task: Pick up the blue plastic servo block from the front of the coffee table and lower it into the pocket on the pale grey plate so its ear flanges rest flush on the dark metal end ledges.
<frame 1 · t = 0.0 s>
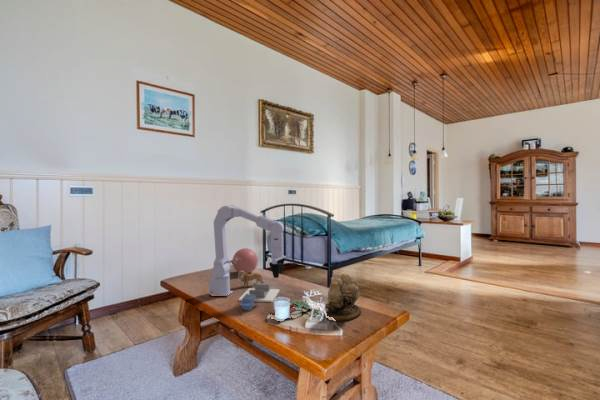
hand: (277, 275, 144), 10 cm above the table, tool pointing down, fingers open, 7 cm apart
servo block: (248, 307, 131), on the table
balloon: (242, 274, 185), on the table
pocket plate: (259, 295, 146), on the table
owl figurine: (343, 314, 123), on the table
lion figurine: (250, 286, 161), on the table
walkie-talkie: (291, 315, 124), on the table
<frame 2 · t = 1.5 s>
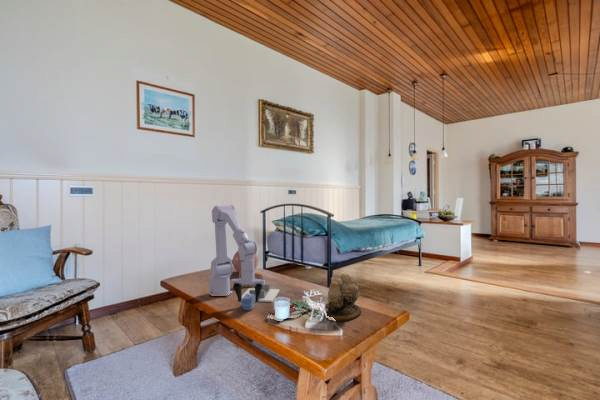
hand: (248, 300, 131), 3 cm above the table, tool pointing down, fingers open, 7 cm apart
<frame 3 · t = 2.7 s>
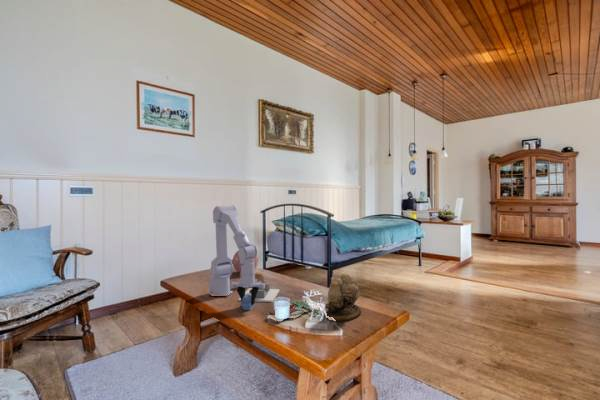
hand: (248, 304, 131), 1 cm above the table, tool pointing down, fingers closed on servo block, 4 cm apart
servo block: (248, 307, 131), on the table, touching gripper
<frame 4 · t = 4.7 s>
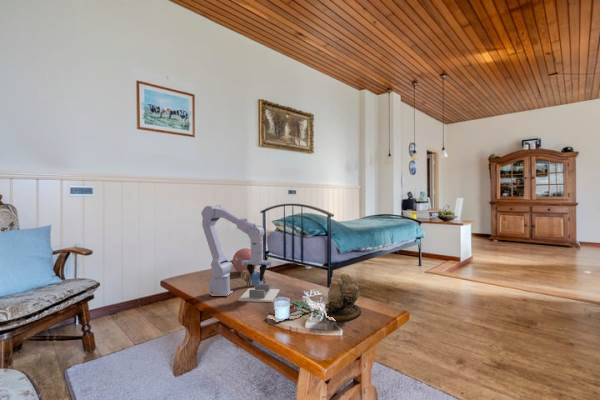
hand: (257, 280, 143), 8 cm above the table, tool pointing down, fingers closed on servo block, 4 cm apart
servo block: (257, 283, 142), point 7 cm above the table, touching gripper
when the fingers open (4 cm above the table, at t = 6.5 s): servo block drops 2 cm, resting on pocket plate.
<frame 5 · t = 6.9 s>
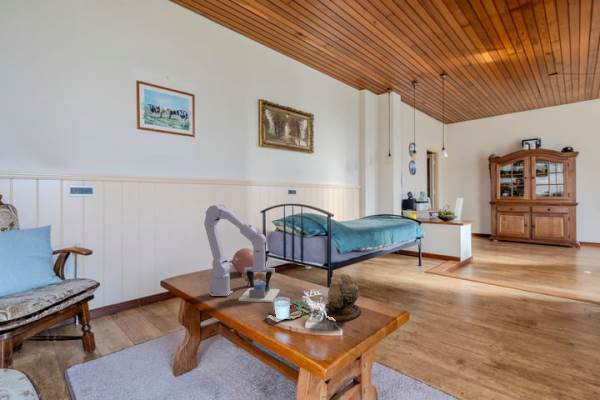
hand: (259, 287, 146), 4 cm above the table, tool pointing down, fingers open, 7 cm apart
servo block: (259, 293, 146), point 1 cm above the table, touching pocket plate
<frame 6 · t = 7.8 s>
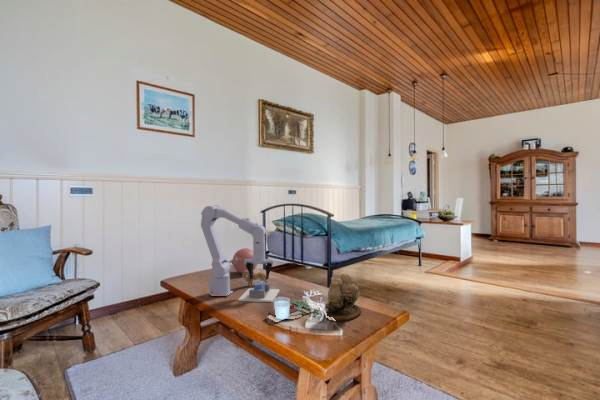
hand: (259, 278, 146), 8 cm above the table, tool pointing down, fingers open, 7 cm apart
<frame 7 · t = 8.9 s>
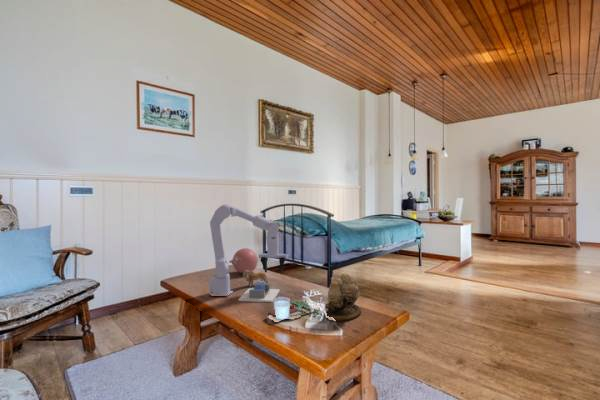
hand: (273, 272, 153), 9 cm above the table, tool pointing down, fingers open, 7 cm apart
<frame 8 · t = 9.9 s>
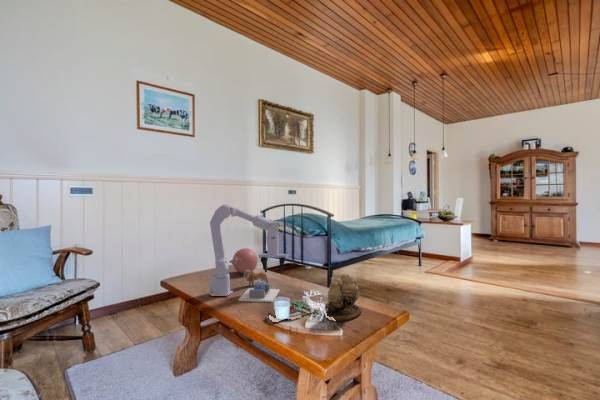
hand: (273, 272, 153), 9 cm above the table, tool pointing down, fingers open, 7 cm apart
at the end: servo block 0.2 cm off-centre on the pocket plate, point 1.2 cm above the pocket plate's base; servo block tilted 0°; the gripper is holding nothing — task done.
